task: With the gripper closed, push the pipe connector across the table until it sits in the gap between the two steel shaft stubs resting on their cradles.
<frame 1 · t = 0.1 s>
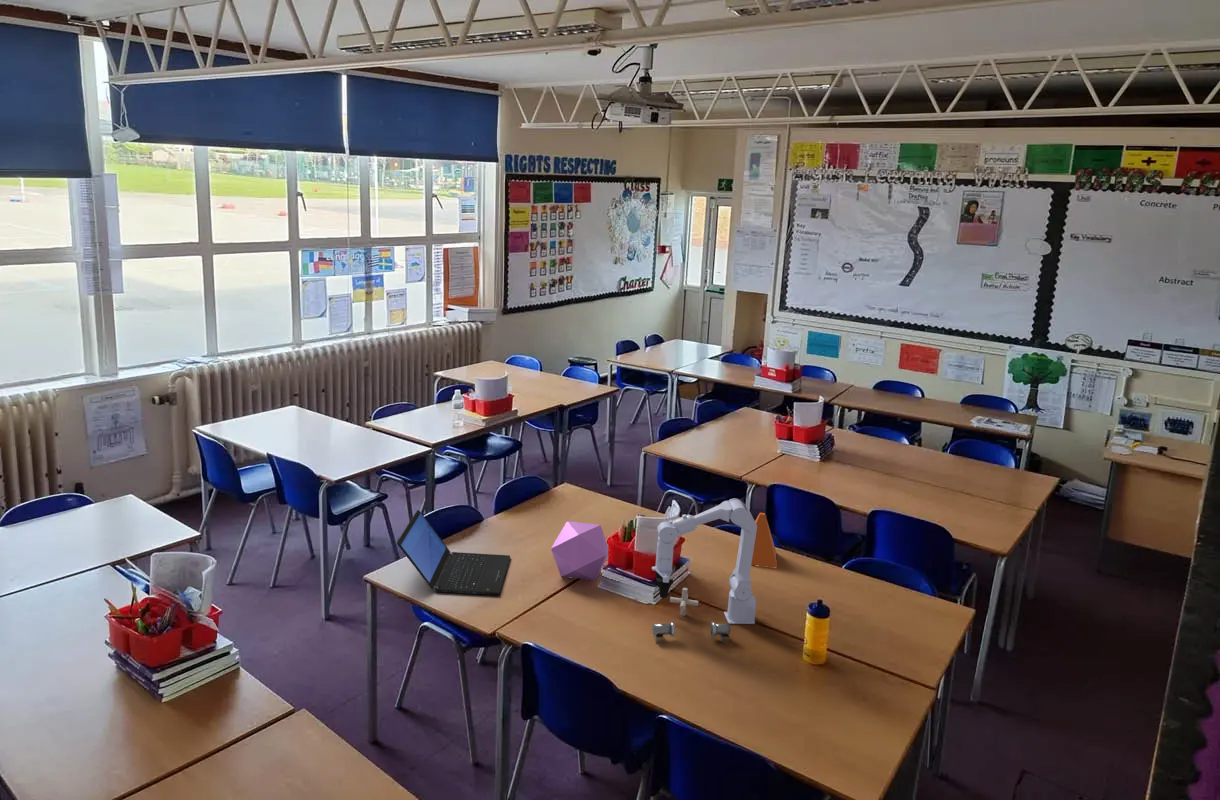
hand: (661, 592, 297), 10 cm above the table, fingers open, 7 cm apart
shaft a: (719, 639, 288), on the table
pyramid: (757, 559, 352), on the table
shaft b: (662, 639, 286), on the table
pipe connector: (682, 614, 303), on the table
laptop: (456, 574, 324), on the table
icosahedron: (579, 574, 329), on the table
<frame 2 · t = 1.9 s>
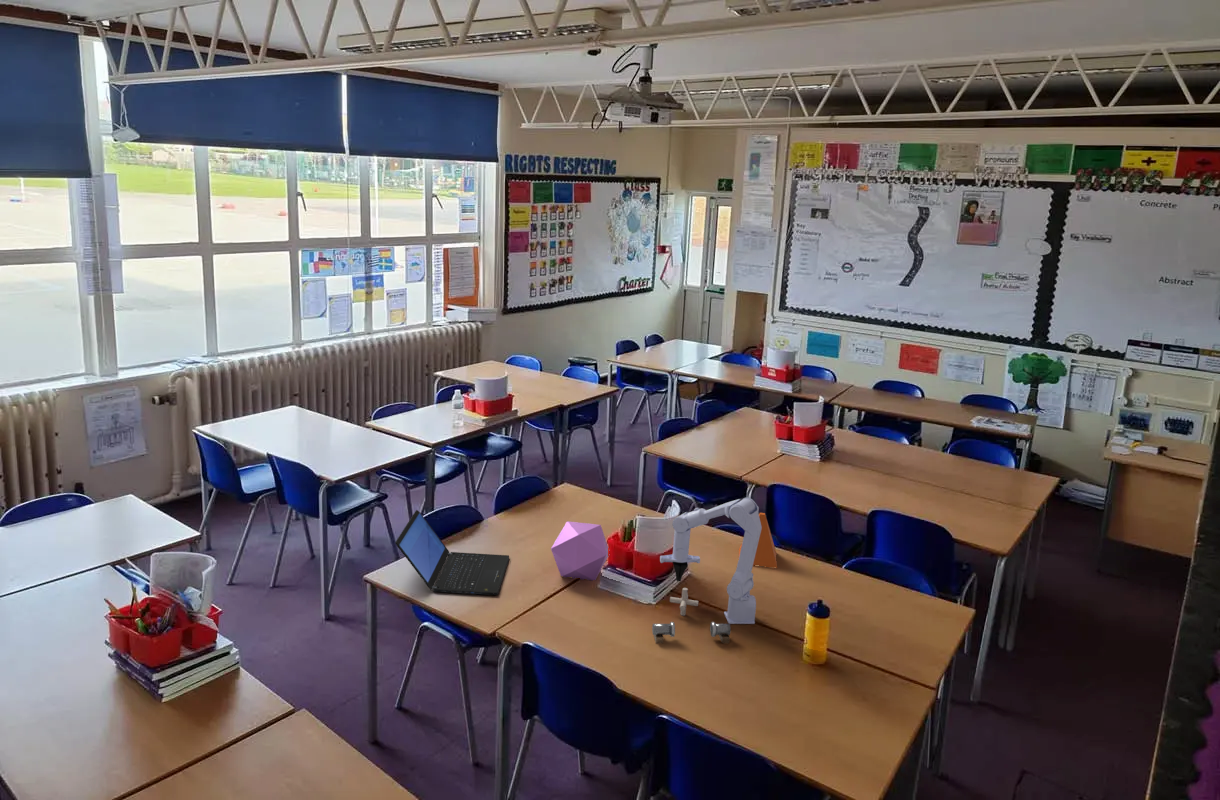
hand: (678, 580, 313), 7 cm above the table, fingers closed
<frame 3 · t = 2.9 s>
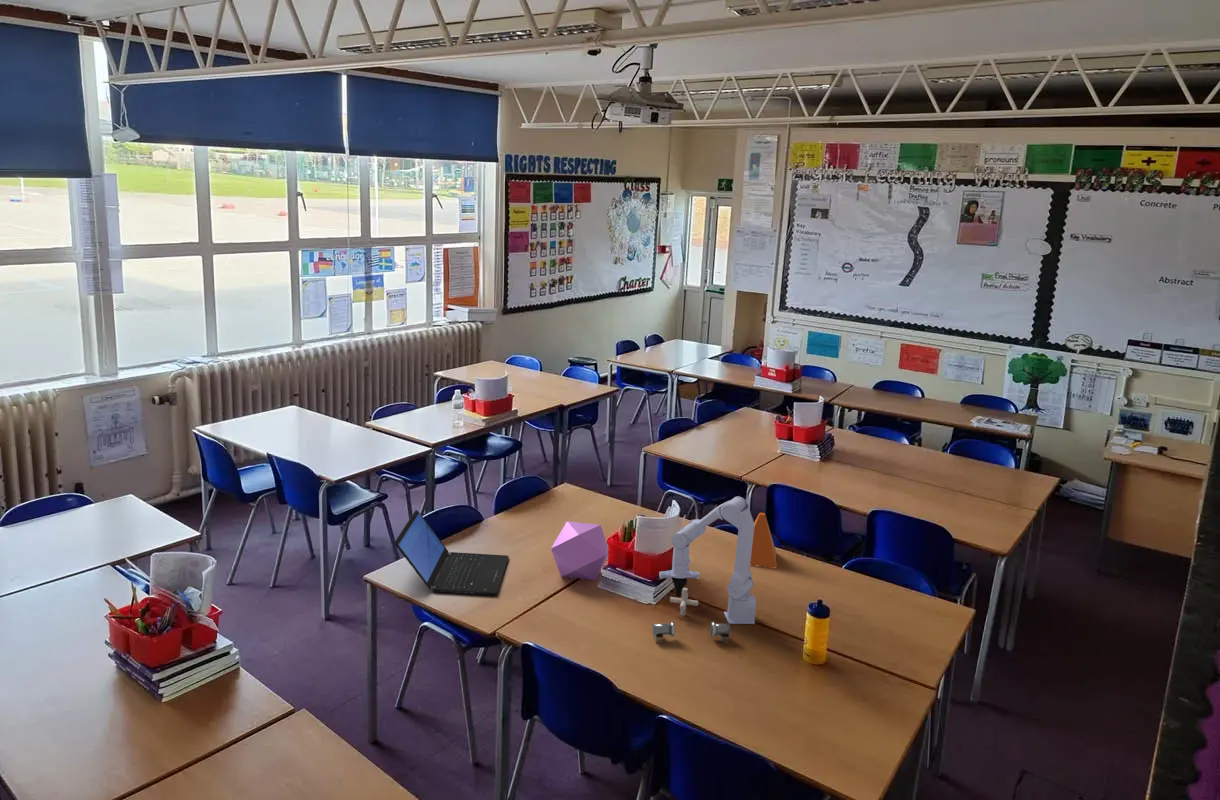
hand: (677, 595, 314), 1 cm above the table, fingers closed
nothing on the table moved.
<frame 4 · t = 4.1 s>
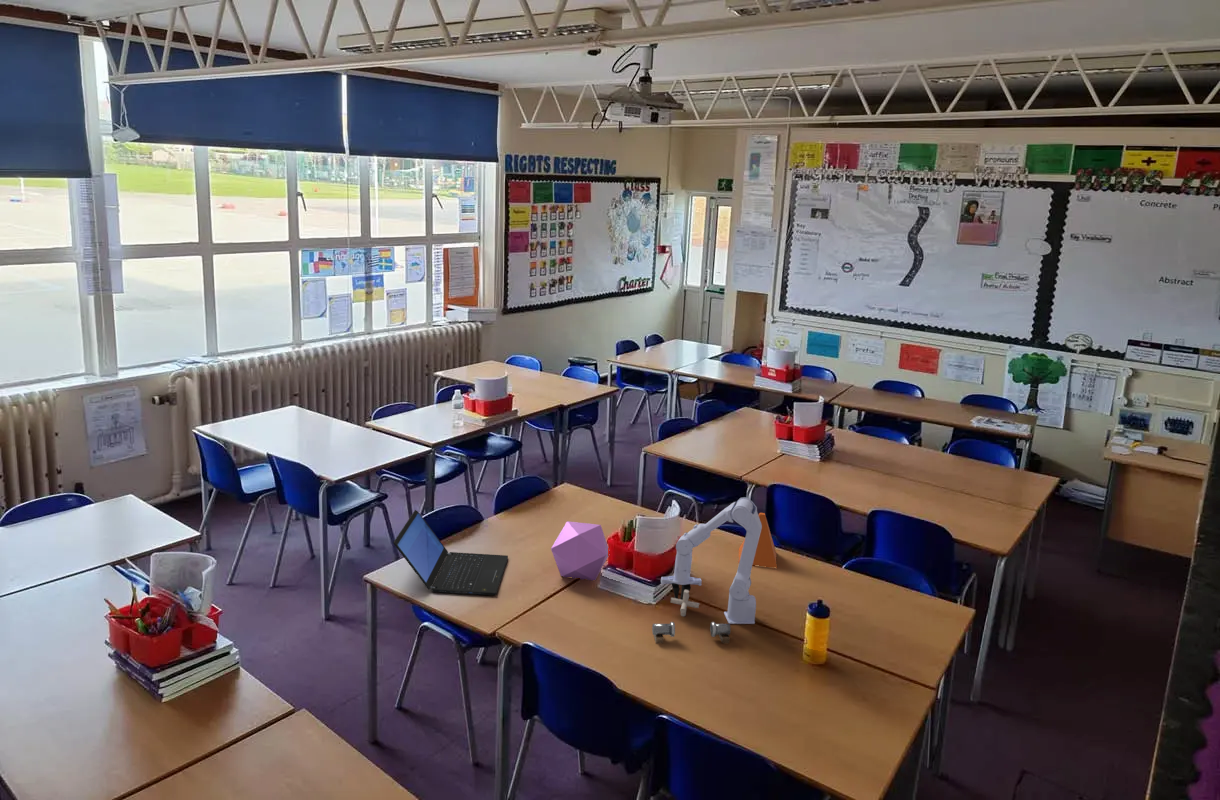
hand: (678, 601, 308), 2 cm above the table, fingers closed
pipe connector: (683, 615, 302), on the table, touching gripper
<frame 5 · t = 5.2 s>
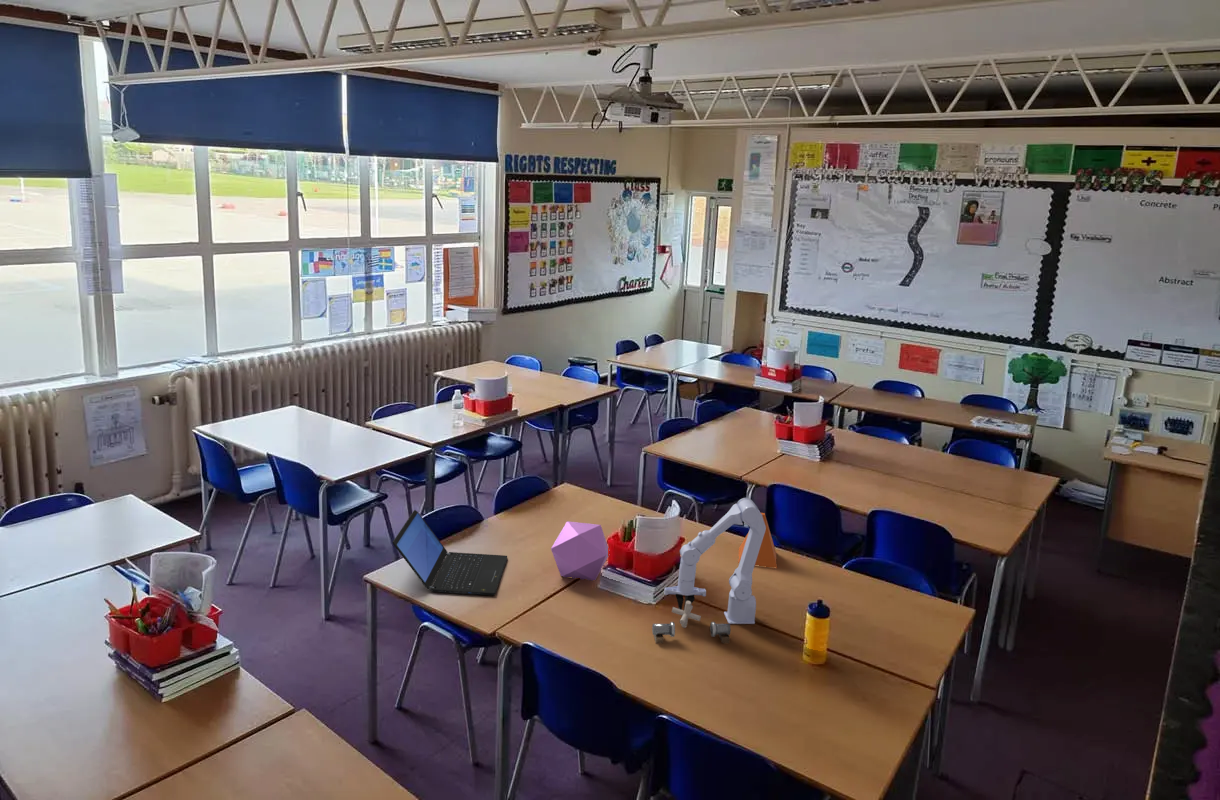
hand: (682, 612, 300), 2 cm above the table, fingers closed
pipe connector: (684, 626, 295), on the table, touching gripper
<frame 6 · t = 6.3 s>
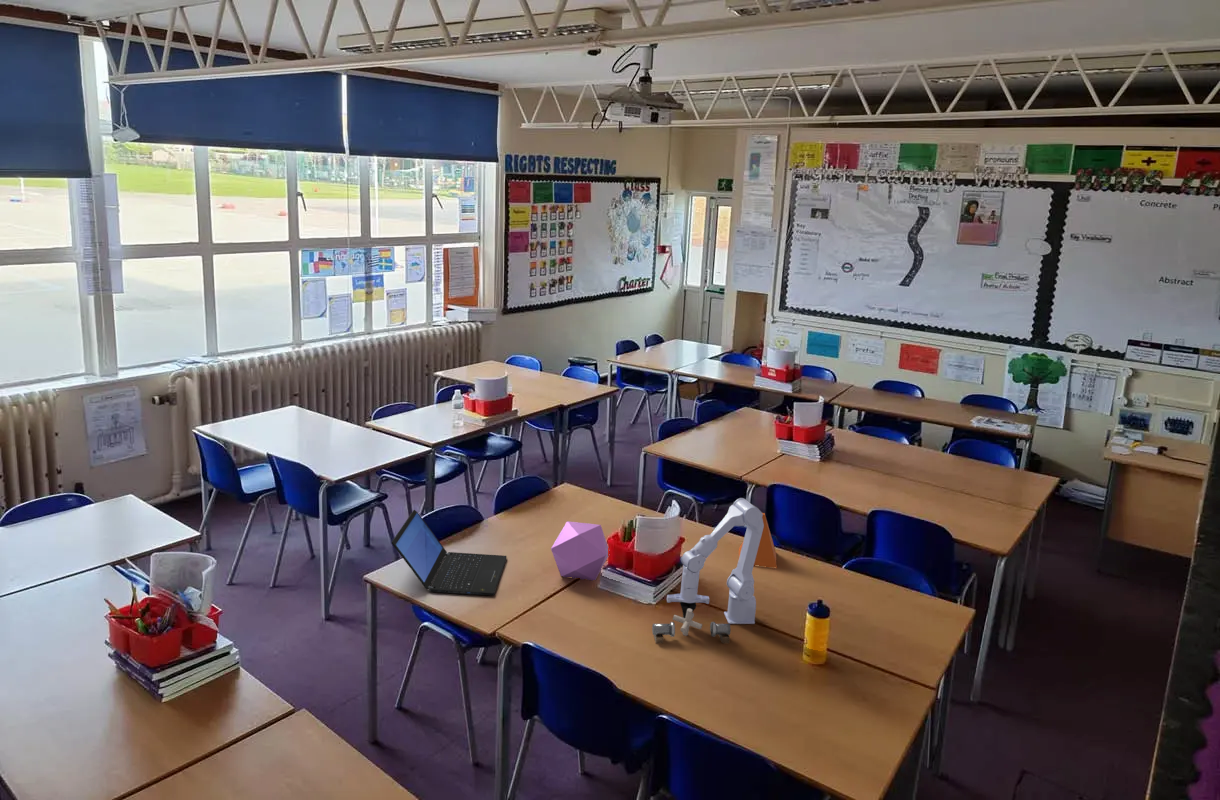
hand: (685, 620, 295), 2 cm above the table, fingers closed, pressing on pipe connector
pipe connector: (685, 634, 290), on the table, touching gripper
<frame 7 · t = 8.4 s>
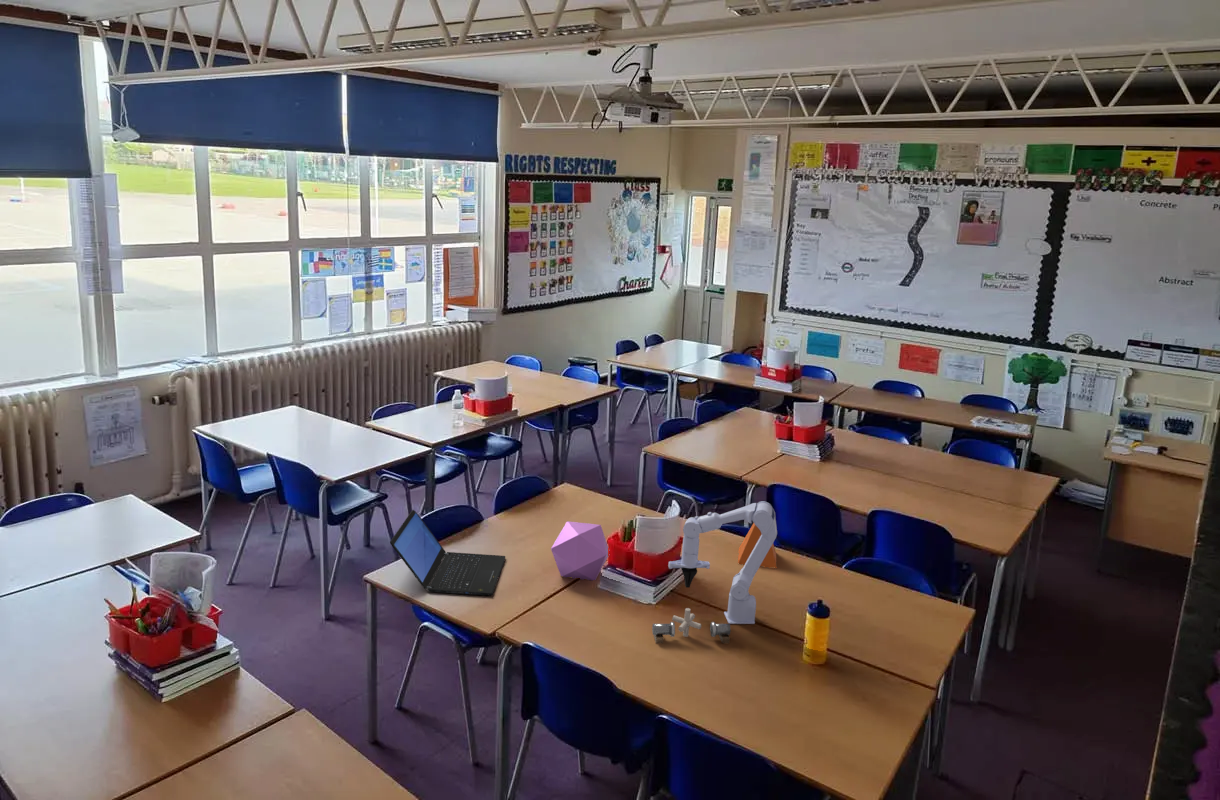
hand: (687, 586, 304), 9 cm above the table, fingers closed
pipe connector: (685, 635, 289), on the table
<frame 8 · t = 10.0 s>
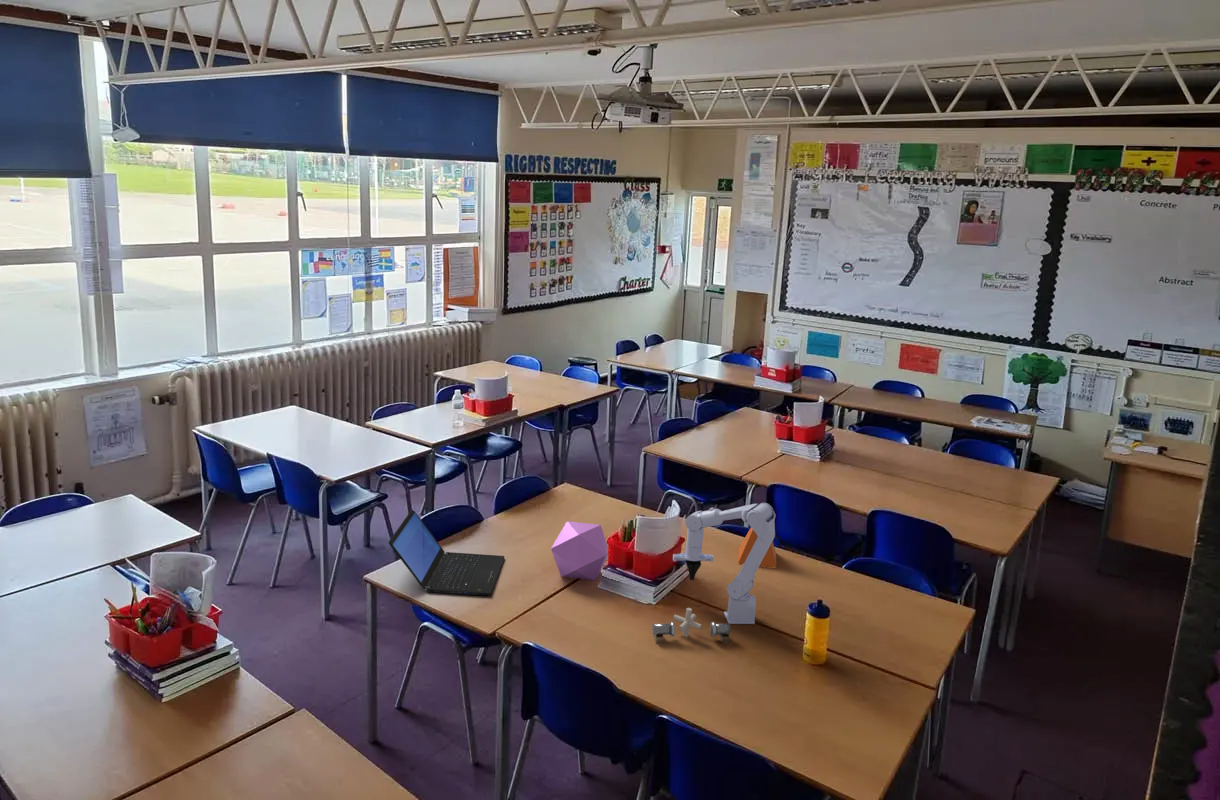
hand: (691, 578, 310), 9 cm above the table, fingers closed
at the end: pipe connector inside the target area (2.9 cm from its centre), on the table; pipe connector moved 14.5 cm from its start; the gripper is holding nothing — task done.
